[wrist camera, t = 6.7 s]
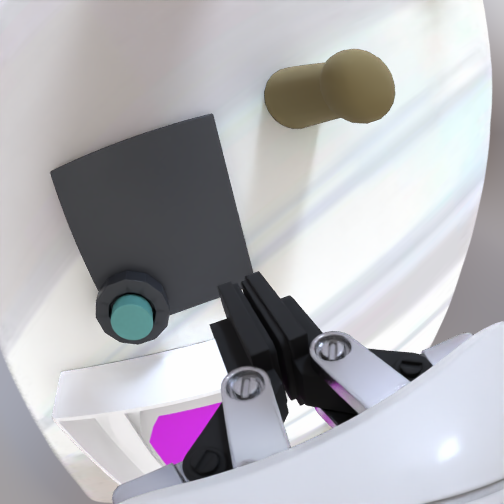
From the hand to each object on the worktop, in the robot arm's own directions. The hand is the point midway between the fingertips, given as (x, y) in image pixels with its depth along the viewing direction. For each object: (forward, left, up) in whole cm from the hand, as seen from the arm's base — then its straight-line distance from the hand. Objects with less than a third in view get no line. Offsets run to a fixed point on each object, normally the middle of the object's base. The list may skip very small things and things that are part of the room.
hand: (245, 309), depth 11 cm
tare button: (+6, -8, -13) cm, 16 cm away
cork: (-8, +12, -16) cm, 21 cm away
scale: (0, -3, -16) cm, 16 cm away
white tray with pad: (+30, -11, -16) cm, 36 cm away
